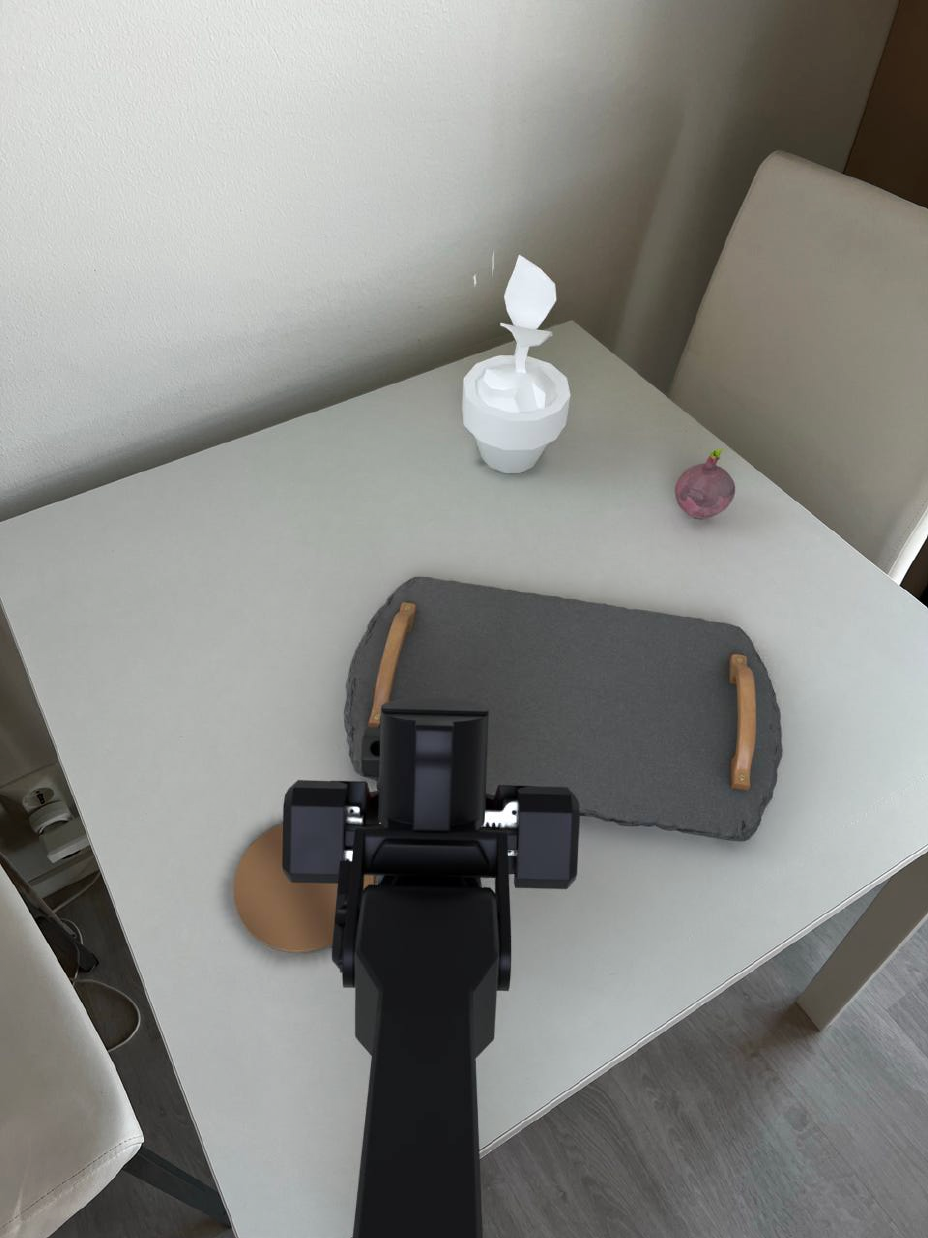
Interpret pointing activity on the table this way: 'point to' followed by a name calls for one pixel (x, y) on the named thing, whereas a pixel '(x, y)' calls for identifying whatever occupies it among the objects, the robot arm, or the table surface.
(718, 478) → the vegetable
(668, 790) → the serving tray
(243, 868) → the coaster
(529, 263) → the potted plant
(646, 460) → the table surface
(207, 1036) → the table surface
